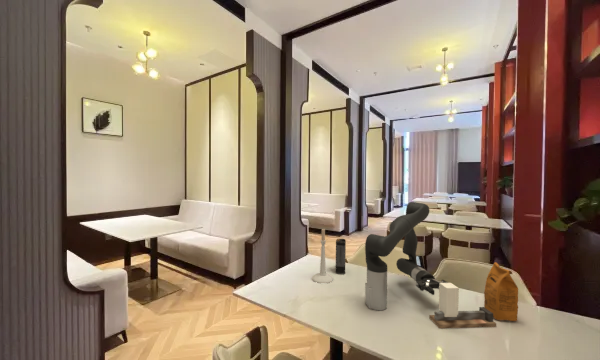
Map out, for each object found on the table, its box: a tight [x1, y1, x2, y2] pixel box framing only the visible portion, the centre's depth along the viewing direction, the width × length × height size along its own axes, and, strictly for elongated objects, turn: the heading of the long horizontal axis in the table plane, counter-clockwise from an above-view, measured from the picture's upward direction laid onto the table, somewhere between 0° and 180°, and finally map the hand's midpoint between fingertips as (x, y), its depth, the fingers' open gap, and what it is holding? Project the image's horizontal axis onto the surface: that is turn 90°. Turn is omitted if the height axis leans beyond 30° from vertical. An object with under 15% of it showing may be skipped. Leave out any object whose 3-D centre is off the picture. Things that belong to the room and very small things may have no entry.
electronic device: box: [335, 238, 347, 275], centre depth 159 cm, size 9×6×20 cm, turn 168°
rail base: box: [429, 306, 497, 329], centre depth 105 cm, size 24×7×5 cm, turn 93°
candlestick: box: [311, 228, 335, 284], centre depth 147 cm, size 13×13×30 cm
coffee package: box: [483, 261, 519, 322], centre depth 111 cm, size 10×12×22 cm
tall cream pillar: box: [438, 282, 460, 317], centre depth 104 cm, size 5×5×12 cm
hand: (443, 292), depth 108 cm, fingers open, 8 cm apart
